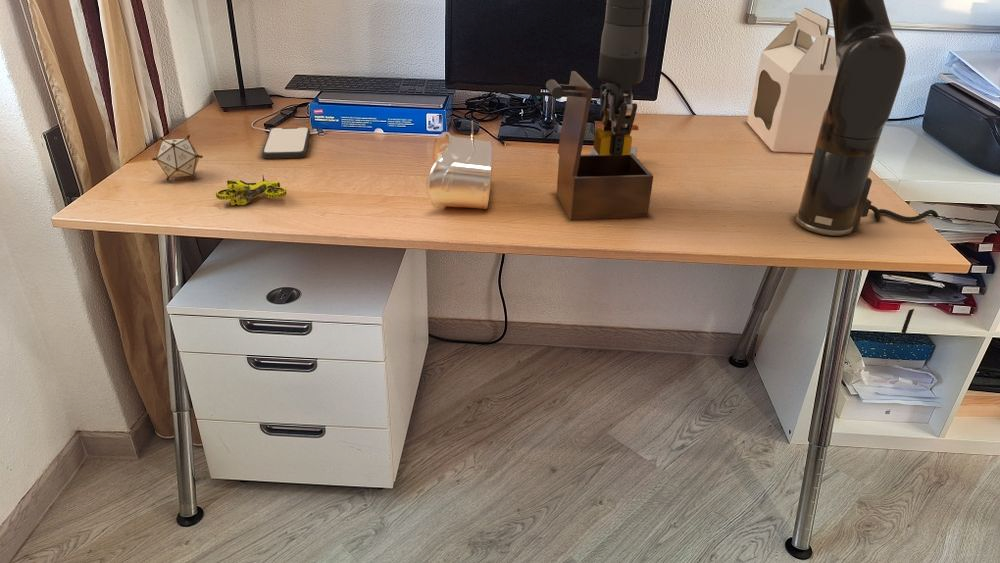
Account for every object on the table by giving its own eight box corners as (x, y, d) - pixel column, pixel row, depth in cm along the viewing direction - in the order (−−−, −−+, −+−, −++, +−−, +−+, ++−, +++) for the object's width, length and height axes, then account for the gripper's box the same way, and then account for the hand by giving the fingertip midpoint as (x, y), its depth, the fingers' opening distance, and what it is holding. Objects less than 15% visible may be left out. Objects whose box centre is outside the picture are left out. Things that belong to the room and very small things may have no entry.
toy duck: (598, 155, 124) (601, 121, 121) (592, 148, 128) (595, 114, 125) (637, 154, 125) (642, 120, 122) (630, 147, 129) (635, 114, 126)
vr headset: (433, 177, 141) (431, 105, 134) (490, 178, 141) (492, 106, 134) (427, 215, 125) (425, 135, 118) (491, 216, 126) (493, 136, 119)
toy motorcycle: (212, 188, 123) (219, 174, 129) (215, 208, 125) (222, 194, 131) (284, 185, 125) (287, 172, 131) (286, 206, 127) (290, 191, 133)
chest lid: (575, 71, 124) (543, 68, 123) (593, 88, 114) (558, 85, 113) (561, 152, 131) (530, 150, 130) (576, 176, 121) (543, 174, 120)
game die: (174, 196, 139) (137, 153, 136) (210, 171, 142) (175, 129, 139) (180, 188, 131) (141, 143, 128) (218, 162, 135) (181, 117, 132)
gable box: (746, 122, 179) (770, 4, 165) (799, 124, 179) (828, 6, 165) (772, 152, 160) (802, 21, 146) (831, 154, 160) (867, 23, 146)
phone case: (305, 159, 148) (311, 133, 162) (305, 152, 147) (310, 126, 161) (261, 160, 147) (270, 134, 160) (260, 153, 146) (269, 127, 160)
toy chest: (627, 192, 137) (632, 153, 134) (647, 217, 127) (653, 176, 124) (556, 194, 135) (559, 155, 131) (570, 220, 125) (574, 178, 122)
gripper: (659, 61, 112) (645, 164, 121) (631, 42, 124) (620, 137, 133) (613, 61, 111) (602, 165, 120) (590, 42, 123) (581, 138, 132)
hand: (611, 150), depth 126 cm, fingers closed on toy duck, 4 cm apart
